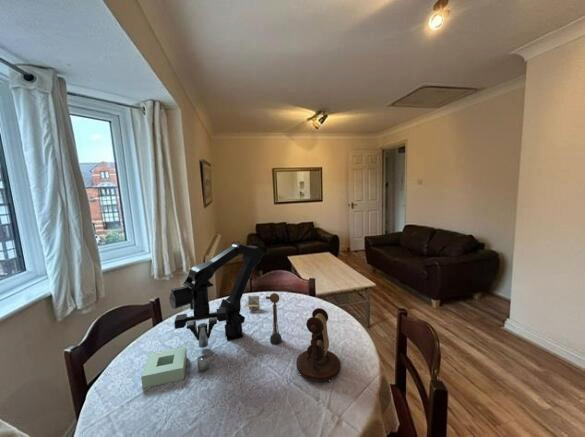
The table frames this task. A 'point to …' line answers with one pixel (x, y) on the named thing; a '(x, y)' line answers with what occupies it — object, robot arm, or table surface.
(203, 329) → the long pin
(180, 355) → the hole block
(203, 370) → the short pin
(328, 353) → the dark brown tall piece
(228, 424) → the table surface
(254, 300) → the architectural model
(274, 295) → the dark grey slender stand
